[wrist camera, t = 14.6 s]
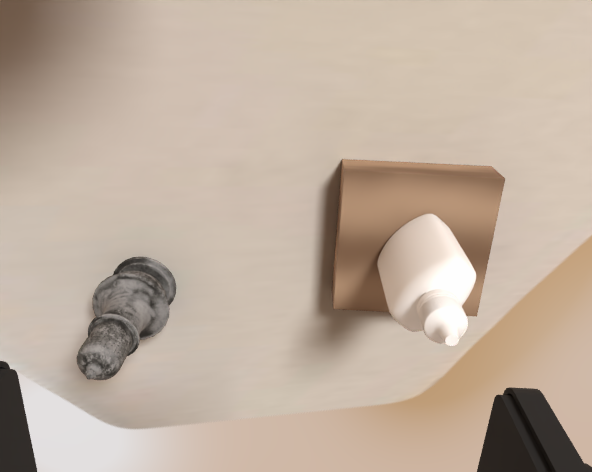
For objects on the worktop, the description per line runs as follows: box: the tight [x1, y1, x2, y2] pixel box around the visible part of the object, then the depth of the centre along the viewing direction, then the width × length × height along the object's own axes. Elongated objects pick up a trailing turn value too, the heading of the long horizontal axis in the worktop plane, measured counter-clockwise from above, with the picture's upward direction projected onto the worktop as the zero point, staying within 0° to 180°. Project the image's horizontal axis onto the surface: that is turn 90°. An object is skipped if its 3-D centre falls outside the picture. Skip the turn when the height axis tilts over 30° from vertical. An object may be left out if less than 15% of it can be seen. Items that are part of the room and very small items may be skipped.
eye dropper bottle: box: [377, 214, 476, 346], centre depth 33 cm, size 4×6×12 cm
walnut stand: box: [332, 159, 505, 316], centre depth 40 cm, size 11×11×3 cm
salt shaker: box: [77, 257, 176, 380], centre depth 38 cm, size 6×6×12 cm
